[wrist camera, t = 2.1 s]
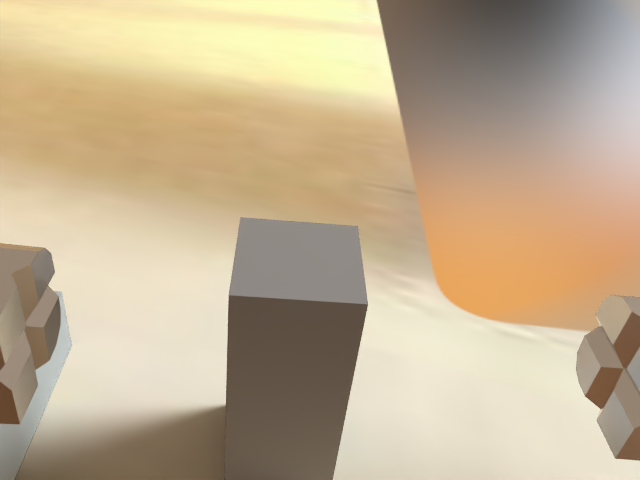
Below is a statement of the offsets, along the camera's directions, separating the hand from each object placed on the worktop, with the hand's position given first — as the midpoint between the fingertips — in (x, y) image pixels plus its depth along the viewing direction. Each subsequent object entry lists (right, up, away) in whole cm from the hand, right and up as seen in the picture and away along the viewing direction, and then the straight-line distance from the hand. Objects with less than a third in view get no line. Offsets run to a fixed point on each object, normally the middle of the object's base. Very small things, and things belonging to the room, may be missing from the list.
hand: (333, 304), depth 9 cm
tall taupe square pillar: (-2, -9, +22) cm, 24 cm away
